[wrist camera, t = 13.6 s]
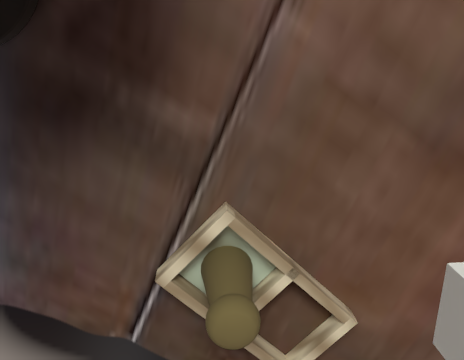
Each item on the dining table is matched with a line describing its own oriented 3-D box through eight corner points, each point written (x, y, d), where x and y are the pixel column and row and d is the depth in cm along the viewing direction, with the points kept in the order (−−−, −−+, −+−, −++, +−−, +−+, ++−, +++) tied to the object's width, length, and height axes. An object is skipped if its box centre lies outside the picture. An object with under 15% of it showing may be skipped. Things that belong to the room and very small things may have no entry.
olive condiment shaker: (213, 298, 48) (217, 369, 38) (191, 257, 46) (189, 321, 36) (260, 279, 48) (277, 346, 37) (240, 237, 46) (252, 295, 35)
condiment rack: (284, 365, 52) (288, 380, 50) (157, 269, 46) (154, 281, 44) (350, 309, 50) (357, 323, 48) (225, 201, 44) (227, 210, 42)
